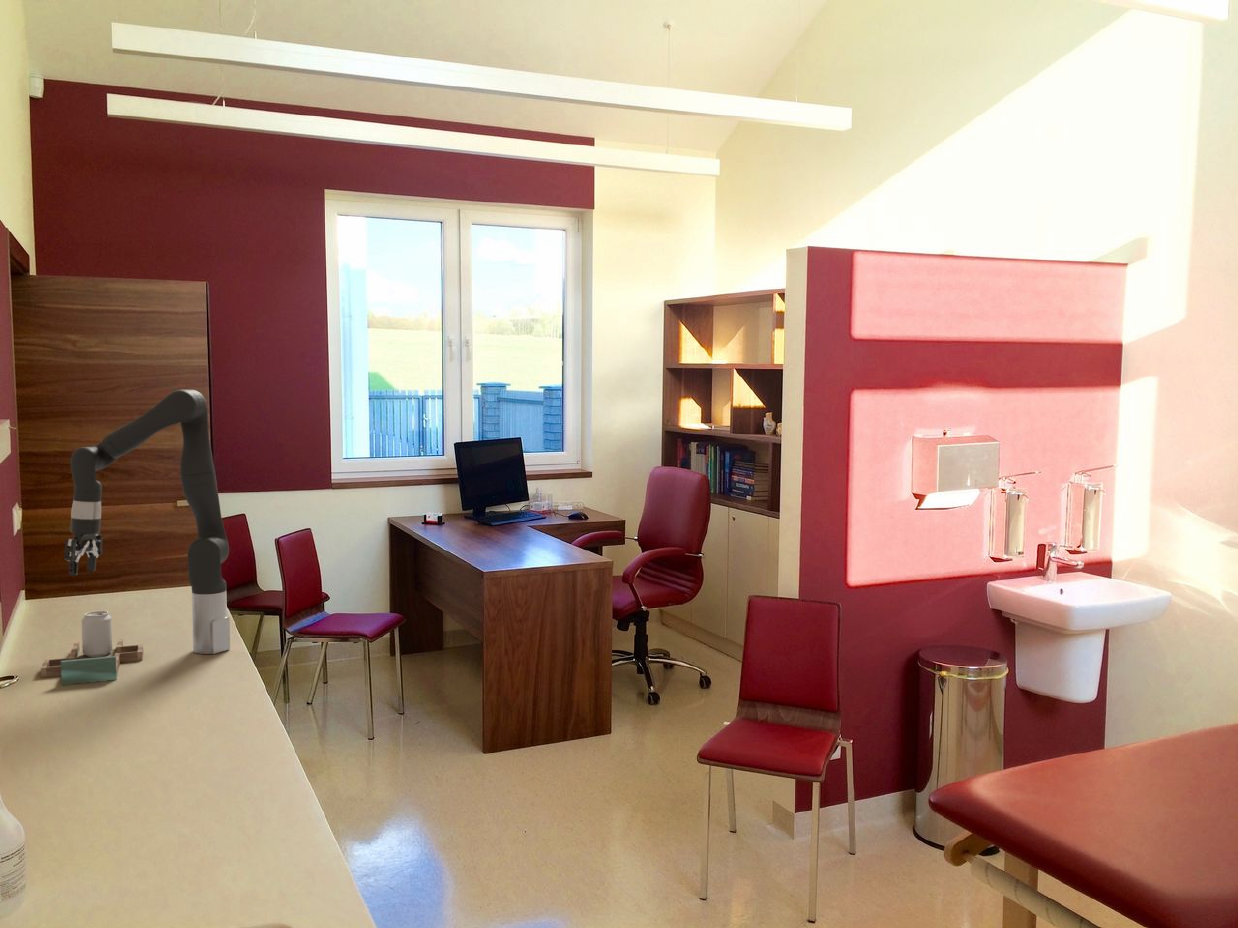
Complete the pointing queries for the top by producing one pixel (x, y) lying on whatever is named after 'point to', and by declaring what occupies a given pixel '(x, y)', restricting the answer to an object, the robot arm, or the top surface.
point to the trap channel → (91, 665)
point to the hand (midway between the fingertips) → (82, 572)
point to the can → (97, 634)
